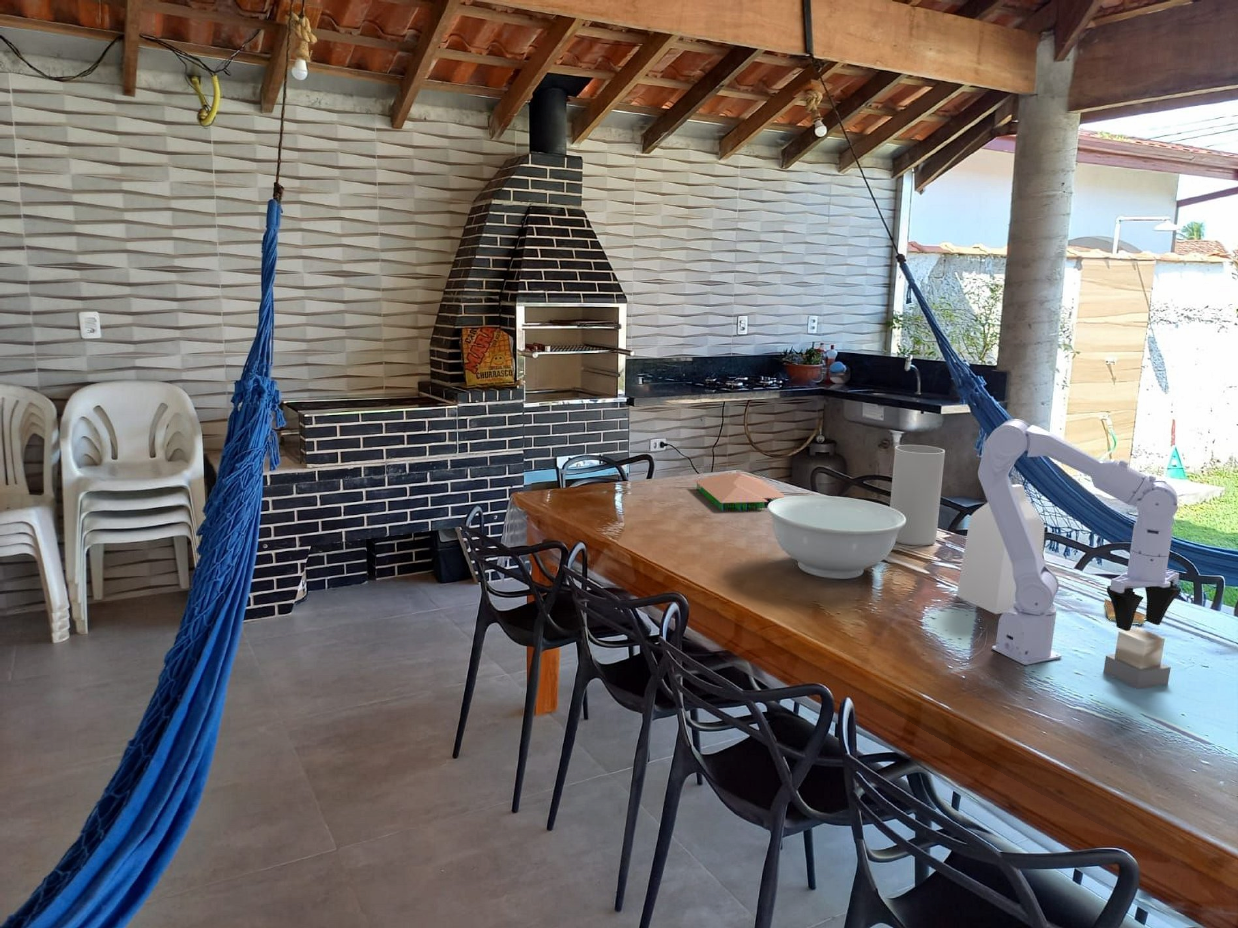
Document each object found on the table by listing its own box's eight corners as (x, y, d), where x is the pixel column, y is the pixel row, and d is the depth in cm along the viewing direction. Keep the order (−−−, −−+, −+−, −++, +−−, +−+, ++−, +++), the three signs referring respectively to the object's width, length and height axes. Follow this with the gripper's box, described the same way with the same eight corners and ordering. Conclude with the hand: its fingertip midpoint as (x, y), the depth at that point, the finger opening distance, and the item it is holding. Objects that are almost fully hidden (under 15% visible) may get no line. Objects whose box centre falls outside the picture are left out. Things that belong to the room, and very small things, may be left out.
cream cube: (1140, 669, 150) (1145, 642, 149) (1114, 657, 154) (1118, 631, 153) (1160, 664, 152) (1164, 637, 151) (1134, 653, 156) (1138, 627, 155)
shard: (1103, 605, 190) (1104, 597, 190) (1144, 611, 187) (1145, 603, 187) (1106, 621, 181) (1107, 613, 181) (1148, 629, 178) (1149, 620, 177)
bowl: (917, 564, 214) (922, 507, 211) (876, 602, 188) (882, 537, 185) (794, 541, 232) (797, 487, 229) (741, 573, 205) (744, 513, 202)
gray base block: (1136, 690, 150) (1139, 671, 149) (1103, 673, 156) (1105, 655, 155) (1167, 685, 152) (1170, 667, 151) (1133, 669, 158) (1135, 651, 157)
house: (756, 486, 296) (757, 463, 294) (792, 511, 264) (794, 485, 262) (691, 487, 292) (692, 464, 290) (720, 513, 260) (721, 486, 258)
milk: (998, 589, 197) (1011, 478, 192) (1038, 607, 187) (1053, 490, 182) (956, 595, 193) (968, 481, 188) (995, 614, 183) (1009, 494, 177)
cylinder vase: (888, 544, 231) (896, 451, 226) (886, 531, 243) (893, 443, 238) (938, 548, 228) (947, 455, 223) (933, 535, 240) (942, 446, 235)
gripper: (1142, 563, 143) (1130, 640, 146) (1200, 554, 149) (1188, 628, 152) (1104, 550, 150) (1093, 624, 153) (1161, 542, 155) (1150, 614, 158)
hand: (1138, 625), depth 153 cm, fingers open, 7 cm apart
